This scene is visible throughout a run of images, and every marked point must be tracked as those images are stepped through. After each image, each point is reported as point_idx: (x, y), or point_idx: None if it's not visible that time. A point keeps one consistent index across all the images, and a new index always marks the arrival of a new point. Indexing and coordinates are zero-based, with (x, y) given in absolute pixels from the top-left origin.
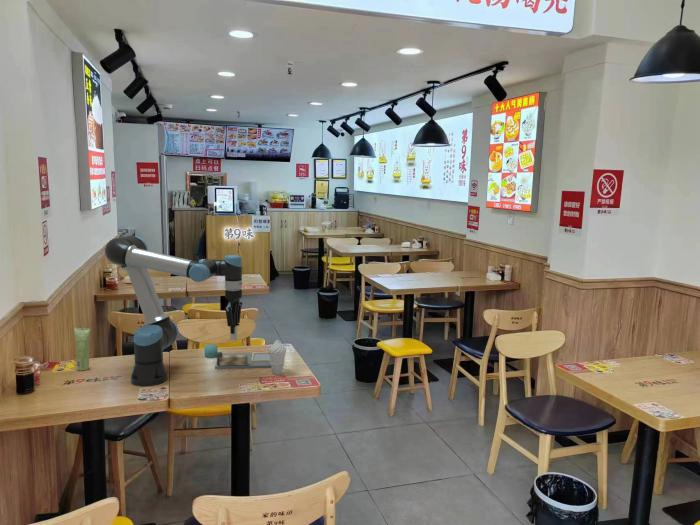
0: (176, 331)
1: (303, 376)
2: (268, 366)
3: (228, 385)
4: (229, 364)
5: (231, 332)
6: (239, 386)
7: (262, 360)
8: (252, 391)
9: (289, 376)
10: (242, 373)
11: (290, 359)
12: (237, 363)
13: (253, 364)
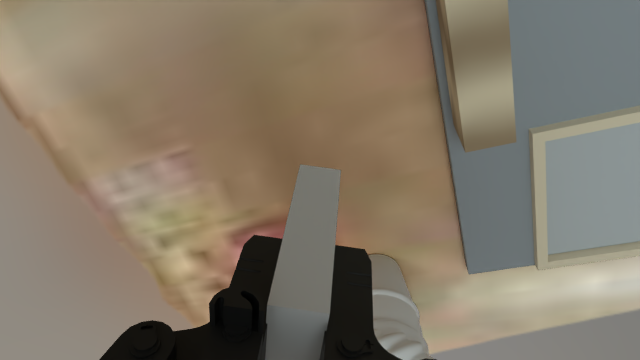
0: None
1: None
2: (460, 227)
3: (141, 98)
4: (437, 2)
5: (243, 258)
6: (154, 155)
7: (535, 195)
8: (126, 222)
9: None
10: (347, 114)
11: (608, 290)
12: (447, 65)
13: (478, 152)
